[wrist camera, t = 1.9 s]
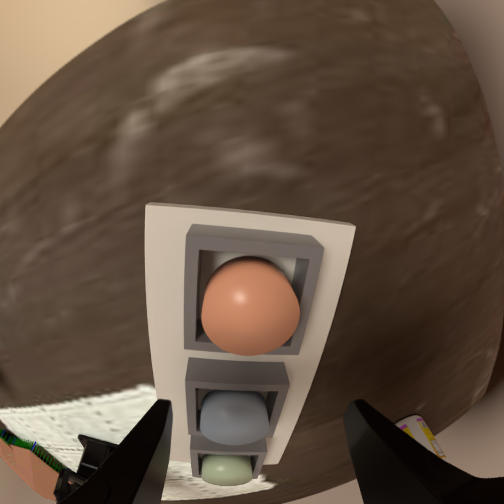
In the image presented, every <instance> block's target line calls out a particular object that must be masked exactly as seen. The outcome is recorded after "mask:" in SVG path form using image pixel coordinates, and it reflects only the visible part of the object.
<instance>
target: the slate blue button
mask: <svg viewBox="0 0 504 504" xmlns="http://www.w3.org/2000/svg"><path fill="white" fill-rule="evenodd" d="M200 430H201V432H202V434H203V435H204V436H205V437H206V438H208V439H209V440H211V441H213V442H216V443H219V444H224V445H244V444H249V443H252V442H255V441H257V440H259V439H261V438H263V437H264V436H265V435H266V434H267V432H268V431H269V420H268V414H267V408H266V402H265V399H264V397H263V396H262V395H261V394H260V393H259V392H258V391H233V390H215V389H214V390H212V391H210V392H208V393H207V394H206V395H205V396H204V398H203V400H202V406H201V421H200Z"/></svg>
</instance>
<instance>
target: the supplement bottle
mask: <svg viewBox="0 0 504 504" xmlns="http://www.w3.org/2000/svg"><path fill="white" fill-rule="evenodd" d="M395 425H396V426H398V427H399V428H400V429H402V430H403V431H404V432H406V433H407V434H408V435H410V436H411V437H412V438H414V439H415V440H416V441H418V442H419V443H420V444H422V445H423V446H424V447H426V448H427V450H430V451H431V452H433V453H434V454H436V455H437V456H439V457H440V458H442V459H443V460H445V461H446V462H448V463H449V461H448V459H447V457H446V456H445V454H444V452H443V451H442V449H441V448H440V446H439V444H438V443H437V441H436V439H435V438H434V436H433V434H432V433H431V431H430V430H429V428H428V426H427V425H426V423H425V422H424V420H423V419H422V418H421V417H420V416H418V415H413V416H410V417H407V418H405V419H403V420H401V421H399V422H397V423H396V424H395Z"/></svg>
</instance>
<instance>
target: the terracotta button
mask: <svg viewBox="0 0 504 504" xmlns="http://www.w3.org/2000/svg"><path fill="white" fill-rule="evenodd" d="M201 317H202V325H203V328H204V331H205V333H206V334H207V336H208V337H209V339H210V340H211V341H212V342H213V343H214V344H215V345H217V346H218V347H219V348H221V349H223V350H224V351H227V352H229V353H232V354H236V355H241V356H255V355H261V354H265V353H268V352H271V351H273V350H275V349H277V348H279V347H280V346H281V345H283V344H284V343H285V342H286V341H287V340H288V339H289V338H290V337H291V336H292V335H293V333H294V331H295V330H296V328H297V325H298V322H299V317H300V308H299V303H298V300H297V298H296V295H295V293H294V291H293V289H292V287H291V285H290V283H289V281H288V278H287V276H286V275H285V273H284V272H283V270H282V269H281V268H280V267H279V266H277V265H276V264H275V263H273V262H272V261H270V260H267V259H265V258H262V257H257V256H241V257H236V258H233V259H230V260H228V261H226V262H224V263H223V264H221V265H220V266H219V267H218V268H217V269H215V271H214V272H213V273H212V274H211V276H210V277H209V279H208V282H207V284H206V288H205V294H204V300H203V307H202V314H201Z"/></svg>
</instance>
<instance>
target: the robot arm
mask: <svg viewBox="0 0 504 504" xmlns="http://www.w3.org/2000/svg"><path fill="white" fill-rule="evenodd" d="M343 418H344V425H345V430H346V436H347V442H348V448H349V453H350V457H351V460H352V463H353V467H354V470H355V474H356V477H357V481H358V484H359V488H360V491H361V495H362V499H363V502H364V504H504V477H497V478H478V477H475V476H473V475H470V474H469V473H467V472H465V471H462V470H461V469H459V468H457V467H455V466H453V465H452V464H450V463H448V462H446V461H445V460H443V459H442V458H440V457H439V456H437V455H436V454H434V453H433V452H431V451H430V450H427V448H426V447H424V446H423V445H422V444H420V443H419V442H418V441H416V440H415V439H414V438H412V437H411V436H410V435H408V434H407V433H406V432H404V431H403V430H402V429H400V428H399V427H398V426H396V425H395V424H394V423H392V422H391V421H390V420H389V419H387V418H386V417H385V416H383V415H382V414H381V413H380V412H378V411H377V410H376V409H374V408H373V407H372V406H371V405H369V404H368V403H367V402H366V401H364V400H363V399H356V400H352V401H351V402H350V404H349V405H348V407H347V409H346V411H345V413H344V417H343ZM172 425H173V411H172V403H171V400H168V399H158V400H157V401H156V402H155V403H154V404H153V406H152V407H151V408H150V409H149V410H148V411H147V413H146V414H145V415H144V416H143V417H142V418H141V420H140V421H139V422H138V423H137V424H136V425H135V427H134V428H133V429H132V430H131V431H130V432H129V434H128V435H127V436H126V437H125V438H124V439H123V441H122V442H121V443H120V444H119V445H114V444H110V443H106V442H102V441H99V440H95V439H92V438H89V437H85V436H82V435H78V439H79V441H80V442H81V444H82V445H83V447H84V451H83V454H82V457H81V460H80V463H79V466H78V469H77V473H75V472H74V471H72V470H71V469H69V468H68V469H67V470H66V469H63V468H61V470H60V473H59V476H58V479H57V482H56V486H55V489H54V492H53V494H54V496H55V498H56V501H57V503H56V504H160V503H161V498H162V493H163V488H164V483H165V478H166V473H167V469H168V464H169V458H170V450H171V436H172ZM68 481H70V482H72V483H73V484H70V483H68Z"/></svg>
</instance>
